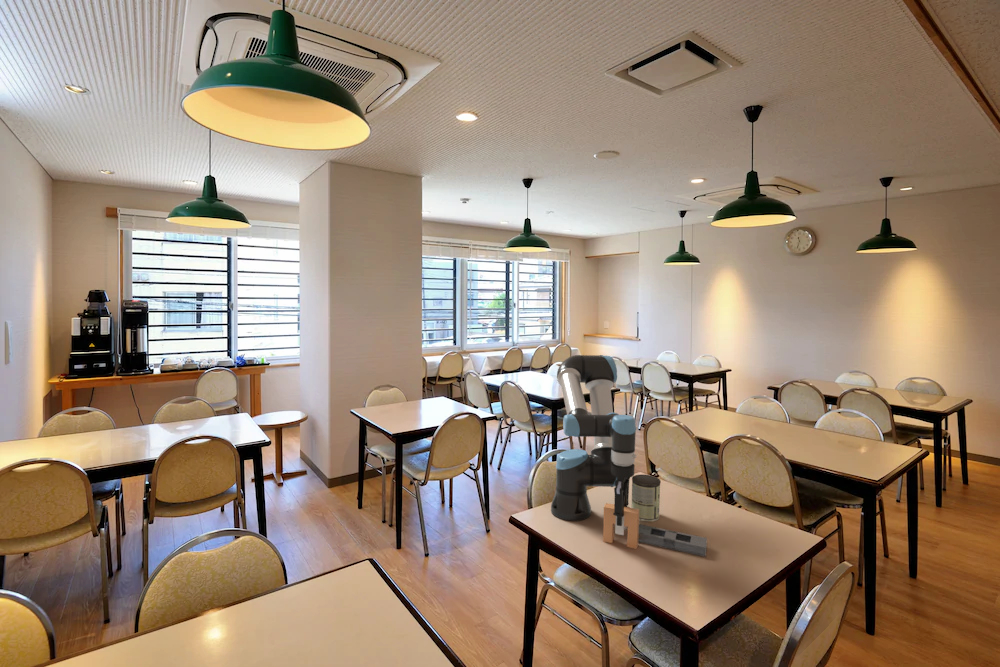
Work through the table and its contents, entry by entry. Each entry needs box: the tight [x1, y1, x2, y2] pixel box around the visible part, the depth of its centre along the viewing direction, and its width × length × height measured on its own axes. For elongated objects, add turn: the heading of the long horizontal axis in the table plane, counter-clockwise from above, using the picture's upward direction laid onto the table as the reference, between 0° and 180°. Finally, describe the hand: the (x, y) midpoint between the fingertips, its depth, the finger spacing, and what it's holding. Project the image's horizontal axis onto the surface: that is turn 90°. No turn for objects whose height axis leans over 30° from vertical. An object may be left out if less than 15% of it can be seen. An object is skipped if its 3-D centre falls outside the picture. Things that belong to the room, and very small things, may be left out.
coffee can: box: [631, 474, 662, 523], centre depth 180 cm, size 10×10×14 cm
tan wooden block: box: [602, 502, 640, 550], centre depth 159 cm, size 11×4×12 cm, turn 64°
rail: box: [638, 523, 708, 558], centre depth 159 cm, size 22×7×3 cm, turn 64°
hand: (620, 531), depth 159 cm, fingers closed on tan wooden block, 3 cm apart
